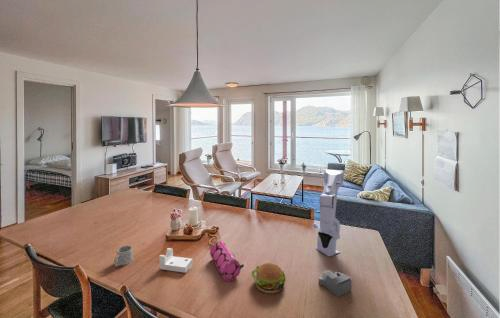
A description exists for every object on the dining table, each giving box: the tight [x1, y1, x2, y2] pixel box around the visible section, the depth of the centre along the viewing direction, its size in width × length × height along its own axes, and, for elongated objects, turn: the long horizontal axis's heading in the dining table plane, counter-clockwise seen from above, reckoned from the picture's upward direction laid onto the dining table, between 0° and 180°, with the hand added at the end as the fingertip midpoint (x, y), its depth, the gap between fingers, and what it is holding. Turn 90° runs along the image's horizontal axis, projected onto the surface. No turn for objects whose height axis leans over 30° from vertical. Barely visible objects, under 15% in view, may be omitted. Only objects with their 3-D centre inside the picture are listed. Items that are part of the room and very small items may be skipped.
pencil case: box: [209, 240, 245, 282], centre depth 109 cm, size 21×10×10 cm, turn 29°
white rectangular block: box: [322, 269, 338, 279], centre depth 98 cm, size 9×4×4 cm, turn 28°
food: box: [251, 262, 286, 294], centre depth 98 cm, size 14×14×8 cm
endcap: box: [318, 270, 353, 298], centre depth 97 cm, size 10×10×5 cm
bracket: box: [159, 247, 194, 274], centre depth 110 cm, size 13×7×8 cm, turn 77°
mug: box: [113, 245, 134, 267], centre depth 114 cm, size 10×7×7 cm
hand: (325, 247), depth 109 cm, fingers closed
